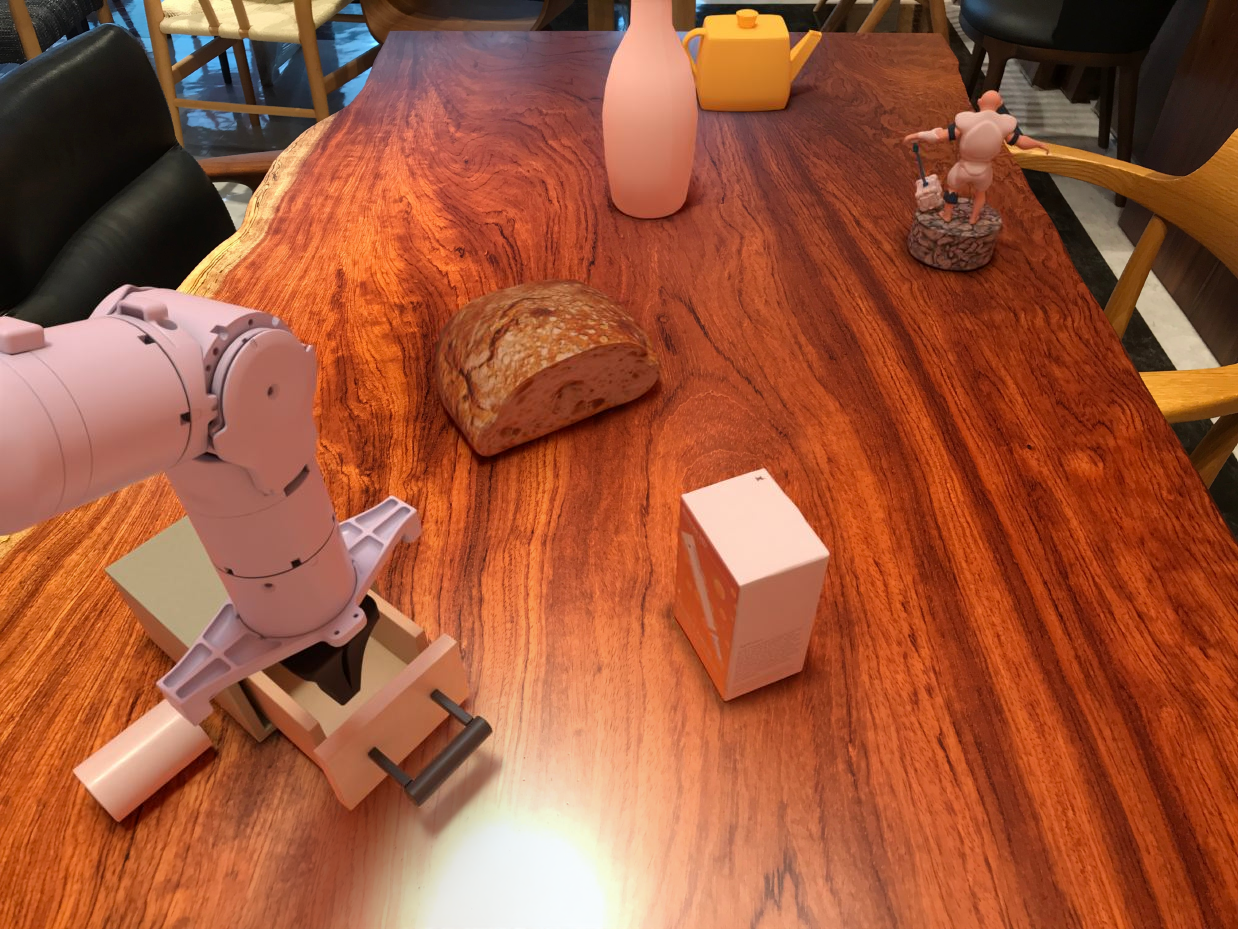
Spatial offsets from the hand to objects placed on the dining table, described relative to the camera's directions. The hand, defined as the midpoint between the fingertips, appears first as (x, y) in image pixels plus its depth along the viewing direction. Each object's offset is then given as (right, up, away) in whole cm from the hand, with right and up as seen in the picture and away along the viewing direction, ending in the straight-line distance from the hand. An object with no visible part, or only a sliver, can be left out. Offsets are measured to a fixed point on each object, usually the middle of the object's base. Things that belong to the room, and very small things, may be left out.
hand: (340, 688), depth 50 cm
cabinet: (-10, 0, +14) cm, 17 cm away
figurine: (+53, +37, +50) cm, 82 cm away
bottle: (+19, +45, +59) cm, 77 cm away
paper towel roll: (-14, -7, +7) cm, 17 cm away
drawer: (0, -4, +8) cm, 9 cm away
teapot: (+35, +68, +83) cm, 113 cm away
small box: (+24, 0, +13) cm, 27 cm away
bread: (+8, +21, +35) cm, 41 cm away
